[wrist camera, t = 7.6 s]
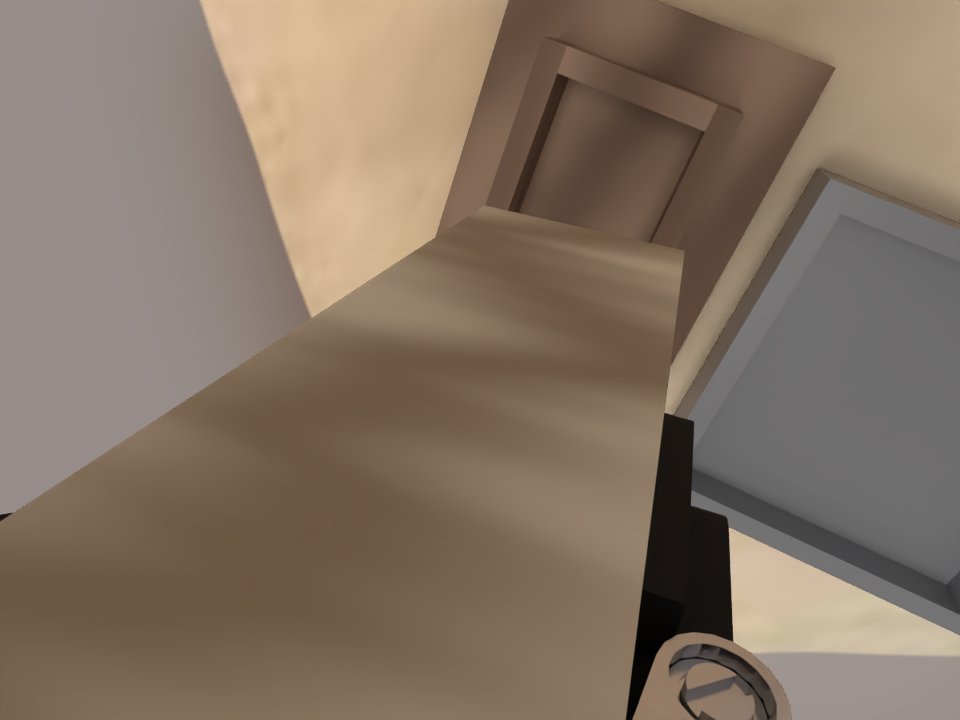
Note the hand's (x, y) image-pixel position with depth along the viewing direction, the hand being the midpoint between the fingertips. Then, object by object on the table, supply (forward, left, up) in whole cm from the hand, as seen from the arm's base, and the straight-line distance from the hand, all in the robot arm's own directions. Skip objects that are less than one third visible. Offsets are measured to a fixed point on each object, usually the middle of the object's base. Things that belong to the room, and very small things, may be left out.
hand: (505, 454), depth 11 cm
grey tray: (-14, +4, -22) cm, 27 cm away
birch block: (0, 0, -4) cm, 4 cm away
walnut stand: (+2, 0, -22) cm, 22 cm away
